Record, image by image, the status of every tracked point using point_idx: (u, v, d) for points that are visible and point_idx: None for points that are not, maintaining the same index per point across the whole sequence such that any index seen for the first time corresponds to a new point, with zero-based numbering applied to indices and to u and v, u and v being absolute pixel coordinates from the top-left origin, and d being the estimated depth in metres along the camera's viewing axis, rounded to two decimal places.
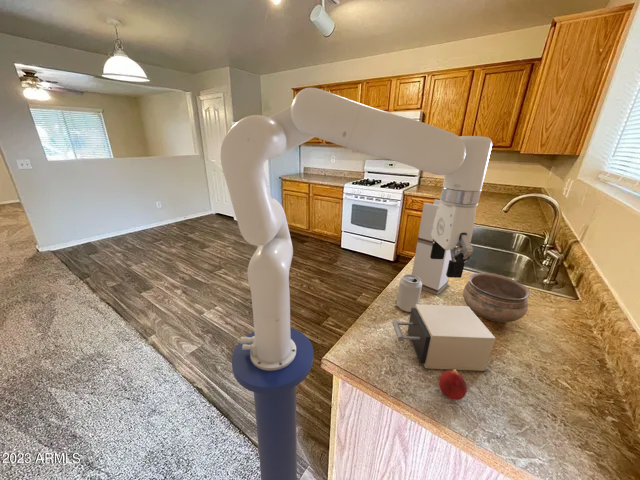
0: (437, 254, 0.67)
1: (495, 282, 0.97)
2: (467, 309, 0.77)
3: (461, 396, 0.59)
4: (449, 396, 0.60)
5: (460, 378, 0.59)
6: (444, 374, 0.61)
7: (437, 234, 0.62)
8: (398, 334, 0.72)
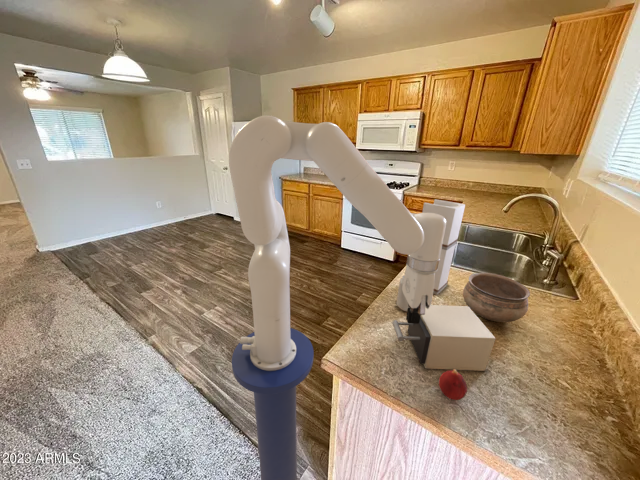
0: None
1: (495, 282, 0.97)
2: (467, 309, 0.77)
3: (461, 396, 0.59)
4: (449, 396, 0.60)
5: (460, 378, 0.59)
6: (444, 374, 0.61)
7: (405, 291, 0.71)
8: (398, 334, 0.72)
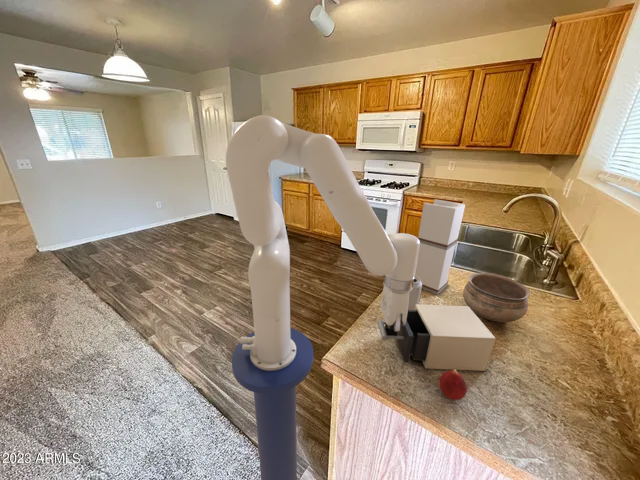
0: None
1: (495, 282, 0.97)
2: (467, 309, 0.77)
3: (461, 396, 0.59)
4: (449, 396, 0.60)
5: (460, 378, 0.59)
6: (444, 374, 0.61)
7: (383, 307, 0.73)
8: (382, 333, 0.72)
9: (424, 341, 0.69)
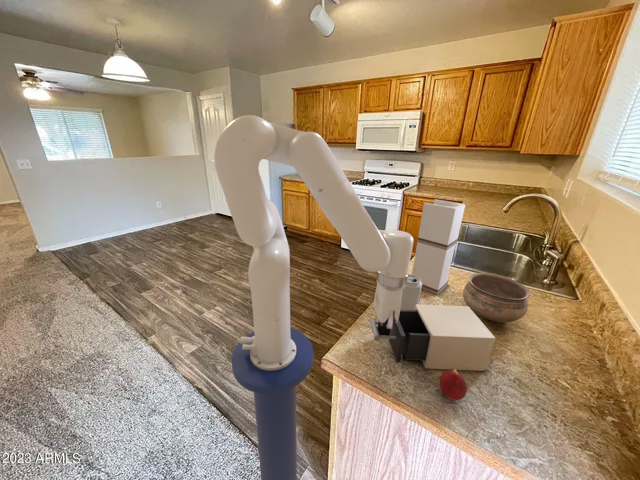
0: None
1: (495, 282, 0.97)
2: (467, 309, 0.77)
3: (461, 396, 0.59)
4: (449, 396, 0.60)
5: (460, 378, 0.59)
6: (444, 374, 0.61)
7: (376, 305, 0.73)
8: (374, 333, 0.72)
9: (416, 341, 0.69)
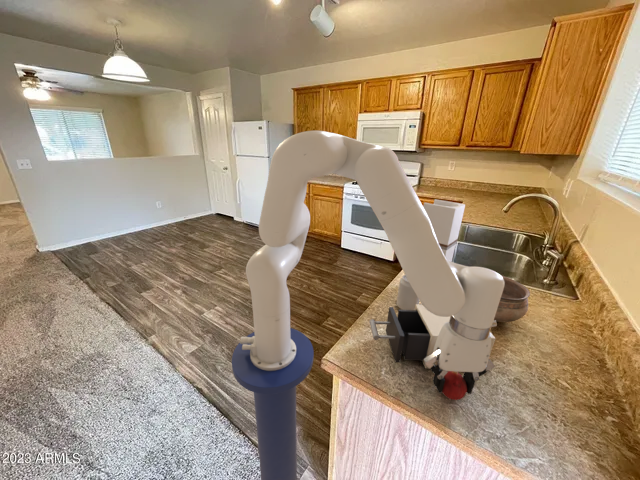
0: None
1: None
2: None
3: (461, 396, 0.59)
4: (449, 396, 0.60)
5: (460, 378, 0.59)
6: None
7: None
8: (373, 333, 0.72)
9: (415, 341, 0.69)
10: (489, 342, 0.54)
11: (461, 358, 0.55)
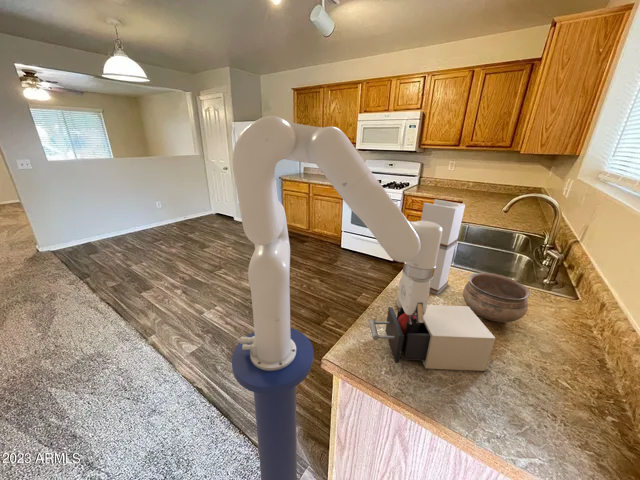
0: None
1: (495, 282, 0.97)
2: (467, 309, 0.77)
3: None
4: None
5: None
6: None
7: (401, 297, 0.72)
8: (373, 333, 0.72)
9: (414, 341, 0.69)
10: None
11: None
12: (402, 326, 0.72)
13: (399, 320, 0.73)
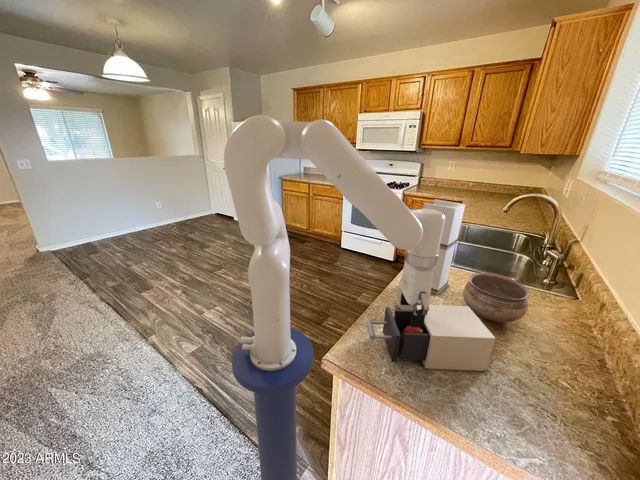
0: (406, 301, 0.76)
1: (495, 282, 0.97)
2: (467, 309, 0.77)
3: None
4: None
5: (422, 330, 0.72)
6: None
7: (403, 287, 0.71)
8: (370, 333, 0.72)
9: (411, 341, 0.69)
10: None
11: None
12: None
13: None
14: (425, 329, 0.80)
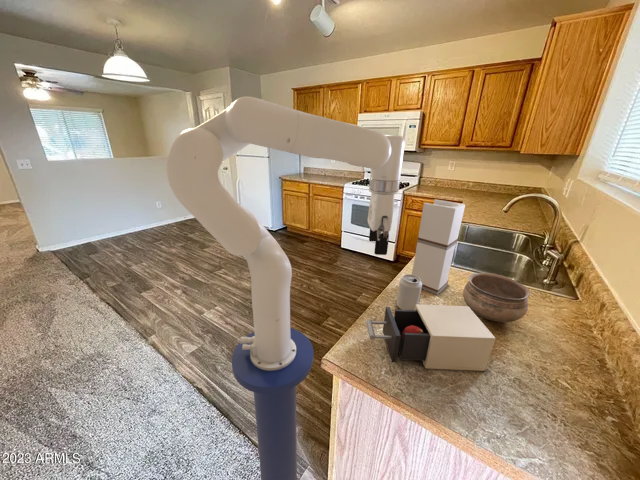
0: (374, 237, 0.78)
1: (495, 282, 0.97)
2: (467, 309, 0.77)
3: None
4: None
5: (422, 330, 0.72)
6: None
7: (369, 218, 0.72)
8: (370, 333, 0.72)
9: (411, 341, 0.69)
10: None
11: None
12: None
13: None
14: (425, 329, 0.80)
